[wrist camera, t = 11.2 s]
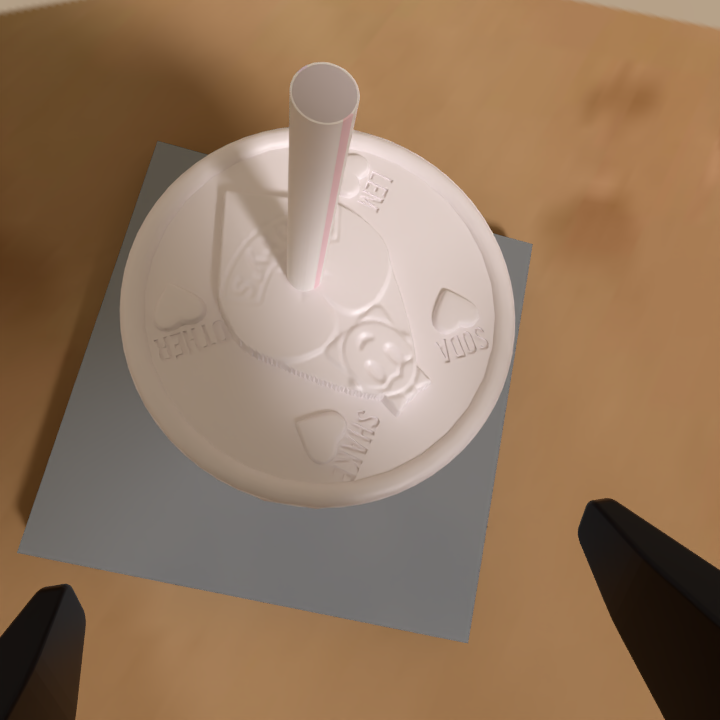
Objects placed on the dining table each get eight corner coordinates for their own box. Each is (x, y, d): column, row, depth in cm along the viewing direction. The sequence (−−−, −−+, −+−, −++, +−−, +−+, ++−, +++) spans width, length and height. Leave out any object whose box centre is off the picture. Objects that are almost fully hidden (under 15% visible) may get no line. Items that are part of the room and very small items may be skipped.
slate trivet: (518, 256, 21) (532, 244, 20) (456, 631, 18) (468, 643, 17) (164, 159, 20) (157, 140, 19) (35, 546, 17) (17, 552, 16)
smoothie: (311, 257, 19) (385, -290, 5) (436, 392, 18) (873, 198, 5) (163, 379, 17) (-293, 71, 4) (297, 527, 17) (353, 803, 3)
